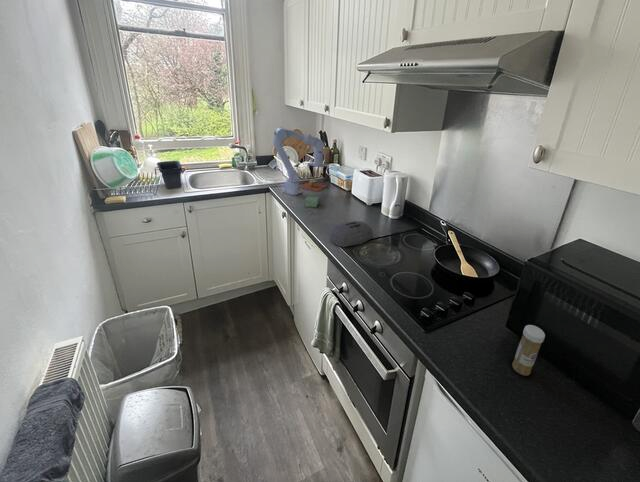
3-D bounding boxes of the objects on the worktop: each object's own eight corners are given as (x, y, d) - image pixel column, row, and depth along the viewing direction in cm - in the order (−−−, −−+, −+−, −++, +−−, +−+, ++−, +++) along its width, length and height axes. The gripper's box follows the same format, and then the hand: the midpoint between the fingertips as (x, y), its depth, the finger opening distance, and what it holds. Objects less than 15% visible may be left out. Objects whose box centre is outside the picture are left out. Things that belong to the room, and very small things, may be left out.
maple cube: (311, 187, 212) (311, 182, 211) (309, 185, 216) (309, 180, 214) (316, 186, 214) (316, 181, 212) (314, 185, 217) (315, 180, 216)
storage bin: (186, 188, 198) (183, 167, 193) (159, 191, 190) (155, 170, 185) (181, 179, 214) (178, 160, 209) (156, 182, 206) (152, 162, 201)
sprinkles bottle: (523, 378, 78) (537, 339, 73) (507, 364, 82) (520, 326, 77) (534, 372, 80) (549, 334, 75) (519, 359, 84) (532, 322, 79)
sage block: (304, 206, 180) (305, 200, 178) (307, 202, 186) (307, 196, 185) (316, 207, 179) (316, 201, 178) (318, 203, 186) (318, 197, 184)
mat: (298, 187, 212) (298, 186, 212) (308, 182, 224) (308, 181, 224) (317, 191, 206) (317, 191, 206) (327, 186, 218) (327, 185, 218)
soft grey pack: (357, 229, 154) (324, 238, 144) (358, 214, 151) (324, 222, 141) (375, 242, 143) (340, 252, 132) (377, 226, 140) (341, 235, 129)
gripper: (330, 157, 200) (329, 176, 205) (309, 155, 201) (308, 174, 206) (328, 159, 194) (328, 179, 199) (306, 157, 195) (306, 177, 200)
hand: (318, 177), depth 202 cm, fingers open, 7 cm apart
